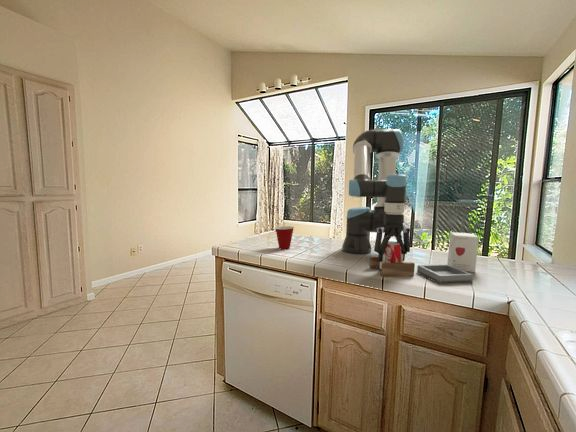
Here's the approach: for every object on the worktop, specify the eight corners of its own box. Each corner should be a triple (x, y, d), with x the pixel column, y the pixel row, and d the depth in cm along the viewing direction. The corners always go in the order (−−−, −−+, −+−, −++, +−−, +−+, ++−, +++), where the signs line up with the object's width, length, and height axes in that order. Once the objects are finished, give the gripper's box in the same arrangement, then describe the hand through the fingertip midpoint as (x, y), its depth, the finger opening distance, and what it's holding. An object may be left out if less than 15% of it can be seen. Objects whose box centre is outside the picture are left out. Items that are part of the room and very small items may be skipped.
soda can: (401, 274, 111) (403, 245, 110) (382, 273, 113) (384, 244, 111) (398, 269, 118) (400, 241, 117) (380, 268, 120) (382, 240, 118)
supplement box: (450, 270, 119) (453, 235, 117) (446, 264, 127) (449, 231, 126) (475, 272, 116) (479, 236, 114) (470, 266, 124) (473, 233, 122)
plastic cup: (283, 245, 162) (283, 224, 160) (298, 248, 155) (298, 226, 153) (270, 248, 153) (270, 226, 152) (285, 251, 146) (285, 228, 145)
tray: (417, 272, 115) (417, 265, 114) (446, 271, 117) (447, 264, 117) (439, 283, 102) (440, 275, 101) (472, 282, 104) (473, 274, 103)
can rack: (369, 267, 120) (369, 256, 120) (397, 266, 122) (398, 255, 122) (382, 276, 109) (383, 264, 108) (413, 275, 111) (414, 263, 110)
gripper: (374, 214, 108) (372, 272, 110) (422, 214, 111) (418, 271, 113) (366, 212, 115) (364, 267, 118) (411, 212, 118) (408, 265, 121)
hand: (390, 268), depth 115 cm, fingers closed on soda can, 7 cm apart
